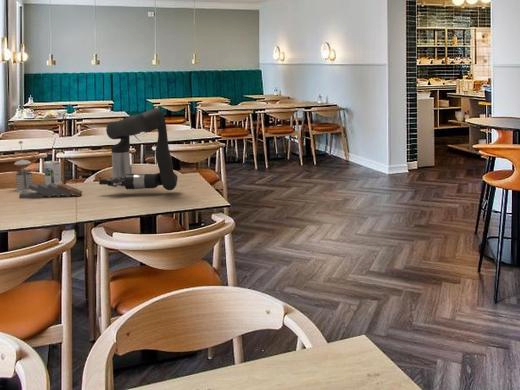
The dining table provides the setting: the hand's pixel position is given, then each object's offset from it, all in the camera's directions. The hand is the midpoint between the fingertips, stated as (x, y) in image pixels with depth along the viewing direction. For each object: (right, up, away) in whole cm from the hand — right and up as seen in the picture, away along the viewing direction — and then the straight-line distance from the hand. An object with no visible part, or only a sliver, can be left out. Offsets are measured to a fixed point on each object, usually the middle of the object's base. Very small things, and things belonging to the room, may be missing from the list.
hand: (99, 182), depth 271 cm
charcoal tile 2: (-14, -6, +1) cm, 15 cm away
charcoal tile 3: (-19, -6, 0) cm, 19 cm away
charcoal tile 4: (-23, -6, 0) cm, 23 cm away
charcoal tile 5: (-26, -6, 0) cm, 27 cm away
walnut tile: (-9, -6, +1) cm, 11 cm away
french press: (-42, -4, +16) cm, 45 cm away
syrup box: (-28, -4, +16) cm, 32 cm away
